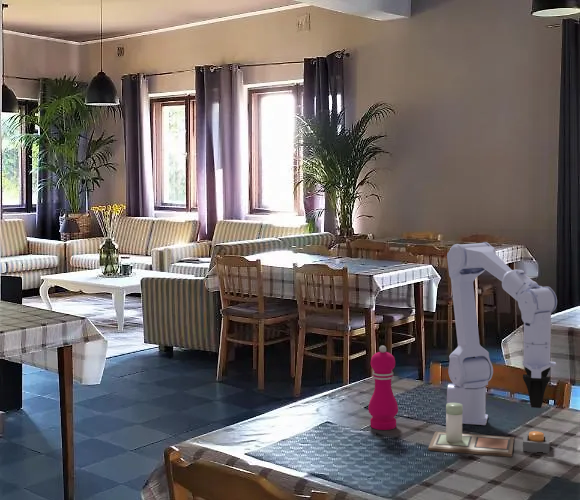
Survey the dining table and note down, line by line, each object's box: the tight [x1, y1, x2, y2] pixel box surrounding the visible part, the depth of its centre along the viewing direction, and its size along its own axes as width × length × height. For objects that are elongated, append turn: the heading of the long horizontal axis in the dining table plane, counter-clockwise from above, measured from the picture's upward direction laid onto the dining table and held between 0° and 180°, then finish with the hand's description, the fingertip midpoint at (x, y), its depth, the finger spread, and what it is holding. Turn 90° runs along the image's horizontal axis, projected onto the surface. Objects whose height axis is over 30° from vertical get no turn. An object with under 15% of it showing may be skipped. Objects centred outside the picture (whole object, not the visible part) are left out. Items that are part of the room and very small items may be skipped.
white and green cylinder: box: [445, 402, 463, 443], centre depth 195 cm, size 4×4×8 cm
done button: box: [528, 430, 545, 442], centre depth 190 cm, size 3×3×2 cm
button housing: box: [522, 433, 551, 454], centre depth 191 cm, size 6×6×2 cm
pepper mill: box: [368, 345, 399, 431], centre depth 208 cm, size 7×7×20 cm
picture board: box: [427, 430, 515, 458], centre depth 194 cm, size 18×12×1 cm, turn 73°
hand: (536, 402), depth 190 cm, fingers open, 7 cm apart
